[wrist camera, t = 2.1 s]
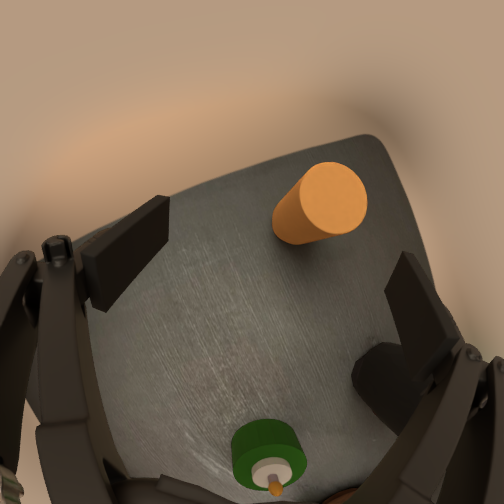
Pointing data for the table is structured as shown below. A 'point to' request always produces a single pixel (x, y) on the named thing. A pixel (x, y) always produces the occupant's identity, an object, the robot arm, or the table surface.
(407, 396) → the portable speaker
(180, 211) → the table surface
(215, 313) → the table surface
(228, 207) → the table surface
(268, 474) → the candle
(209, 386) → the table surface
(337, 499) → the bowl
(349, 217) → the orange tall cylinder
